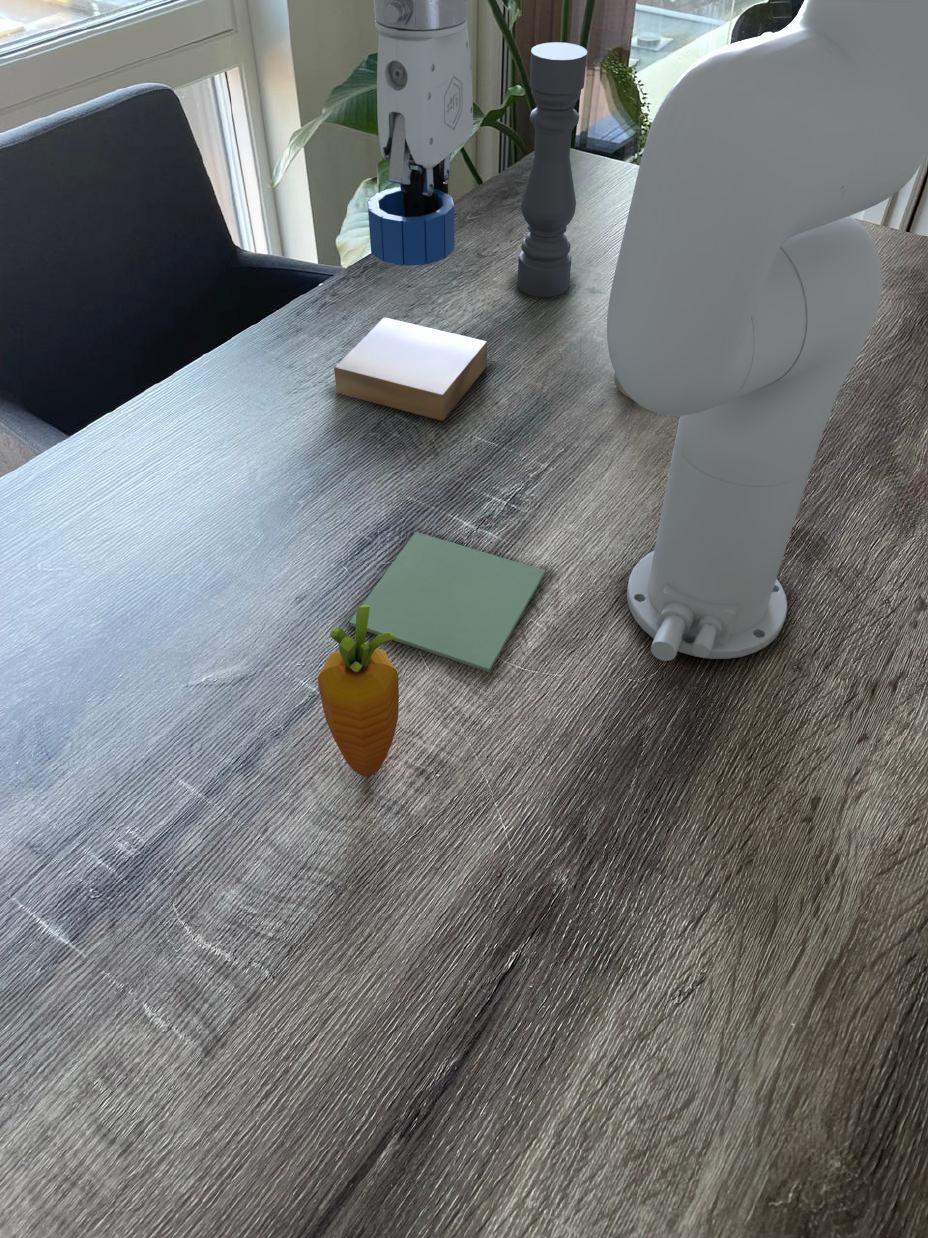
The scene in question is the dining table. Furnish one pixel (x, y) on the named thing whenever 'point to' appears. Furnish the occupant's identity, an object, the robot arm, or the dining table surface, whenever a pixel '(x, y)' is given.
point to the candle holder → (551, 168)
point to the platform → (411, 368)
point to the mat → (451, 600)
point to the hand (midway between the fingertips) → (426, 228)
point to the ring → (410, 230)
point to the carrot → (360, 697)
